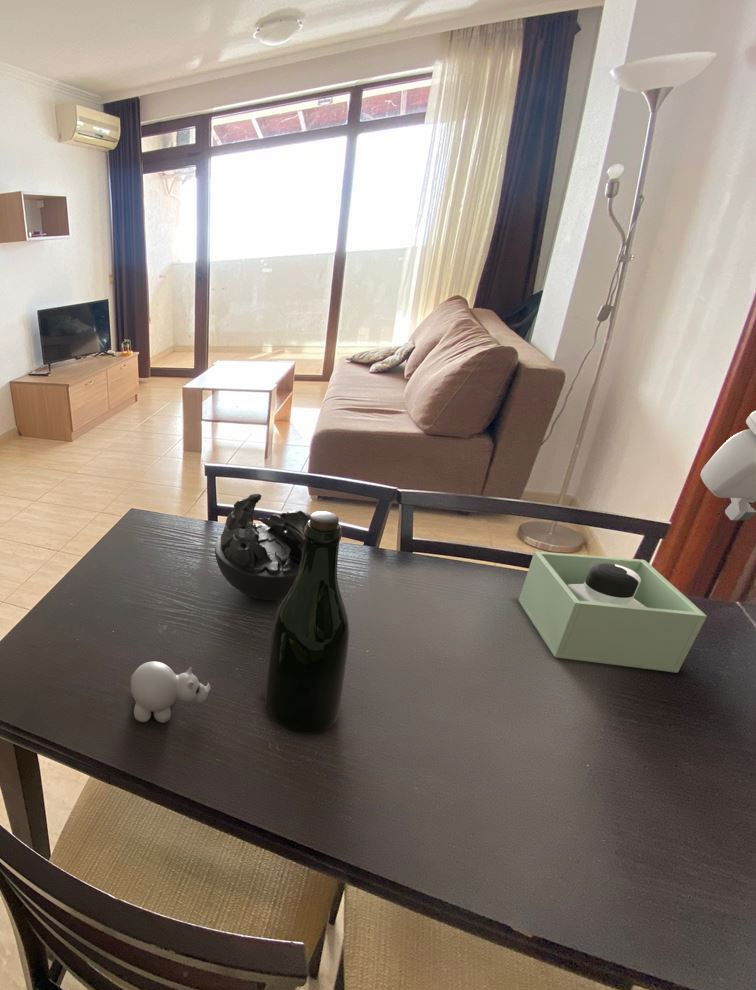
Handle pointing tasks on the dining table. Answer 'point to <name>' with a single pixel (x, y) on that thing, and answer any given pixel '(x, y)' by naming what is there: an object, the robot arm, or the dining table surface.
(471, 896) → the dining table surface
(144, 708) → the chubby cartoon animal
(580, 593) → the medicine bottle
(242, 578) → the coal bowl
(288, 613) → the beer bottle
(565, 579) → the open storage box
